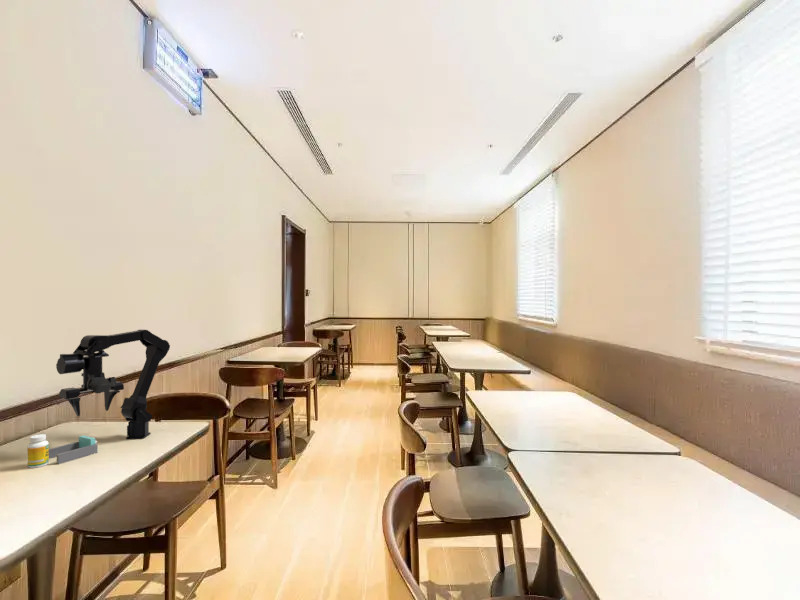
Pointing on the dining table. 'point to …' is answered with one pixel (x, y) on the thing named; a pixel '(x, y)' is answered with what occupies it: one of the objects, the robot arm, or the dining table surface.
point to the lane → (74, 449)
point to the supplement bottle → (38, 451)
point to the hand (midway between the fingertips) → (92, 413)
